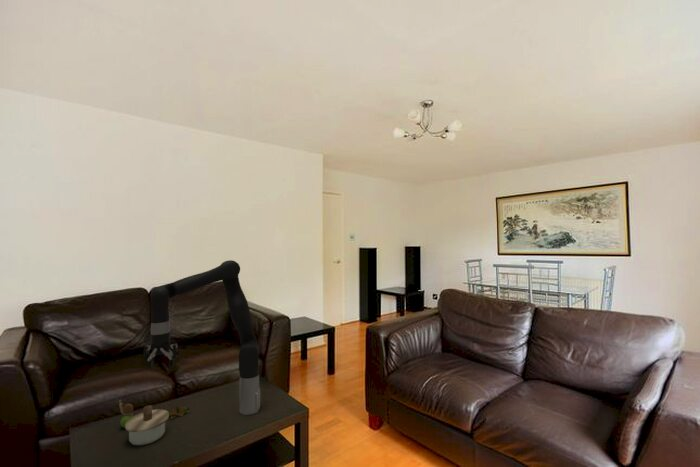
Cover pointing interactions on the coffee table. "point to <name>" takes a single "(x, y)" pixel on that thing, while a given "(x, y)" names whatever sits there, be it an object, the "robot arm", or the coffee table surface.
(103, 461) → the coffee table surface
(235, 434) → the coffee table surface
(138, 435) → the bowl
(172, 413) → the lily flower
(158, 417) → the lid
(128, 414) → the snail figurine
